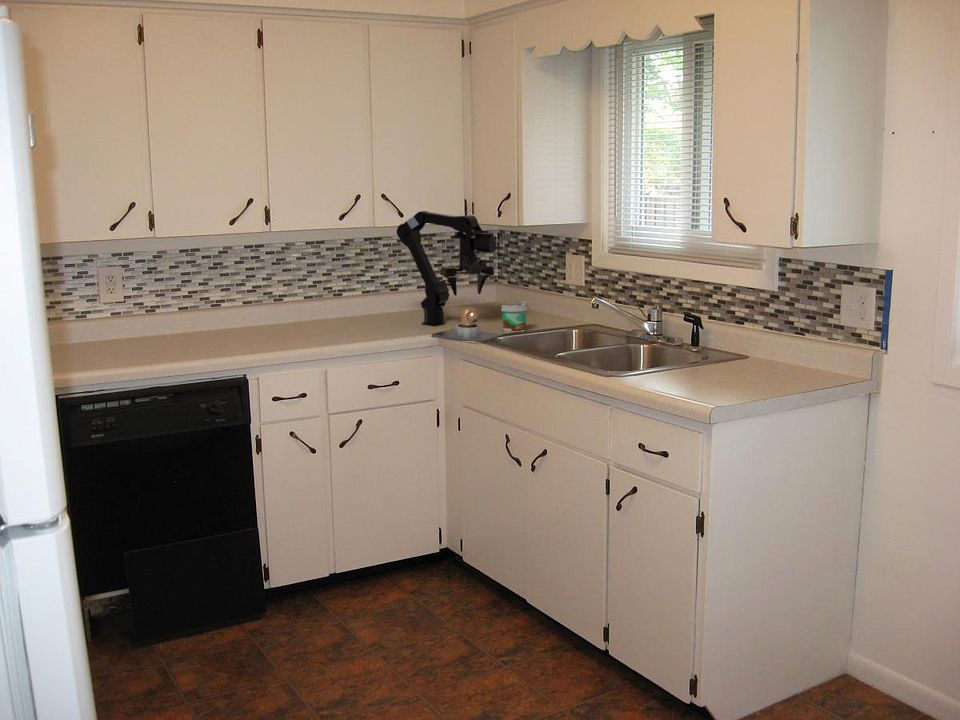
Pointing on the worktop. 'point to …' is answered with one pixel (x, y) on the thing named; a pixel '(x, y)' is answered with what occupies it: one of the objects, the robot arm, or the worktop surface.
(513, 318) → the food container
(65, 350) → the worktop surface
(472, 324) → the elbow
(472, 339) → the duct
